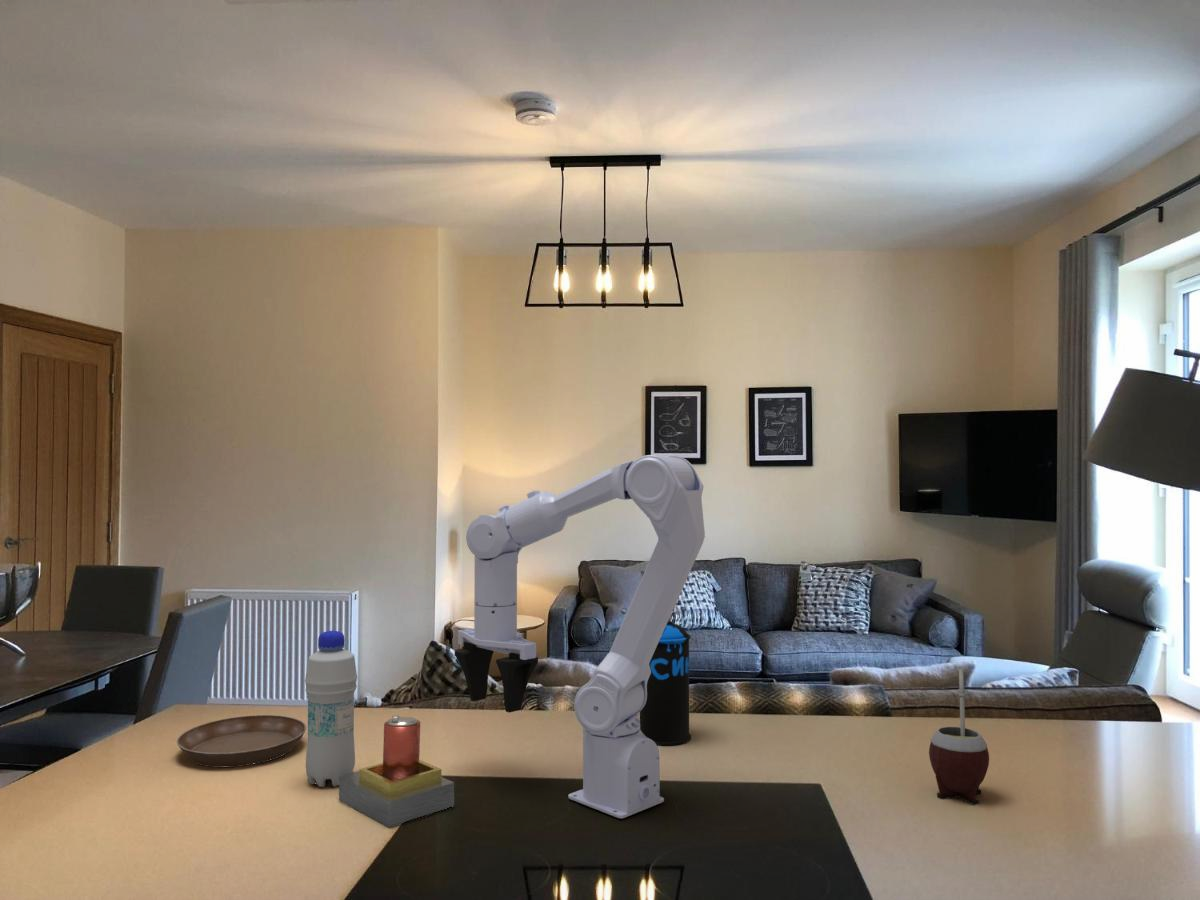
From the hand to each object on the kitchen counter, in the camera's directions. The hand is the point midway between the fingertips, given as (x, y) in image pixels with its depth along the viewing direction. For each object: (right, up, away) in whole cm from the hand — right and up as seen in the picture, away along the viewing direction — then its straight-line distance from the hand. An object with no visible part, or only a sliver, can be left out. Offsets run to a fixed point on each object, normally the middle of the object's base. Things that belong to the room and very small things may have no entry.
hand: (495, 705), depth 116 cm
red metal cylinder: (-11, -7, -9) cm, 16 cm away
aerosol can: (+24, -11, +18) cm, 32 cm away
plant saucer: (-39, -11, +12) cm, 42 cm away
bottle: (-22, -10, -1) cm, 24 cm away
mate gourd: (+60, -10, -5) cm, 61 cm away
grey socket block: (-11, -10, -9) cm, 17 cm away
